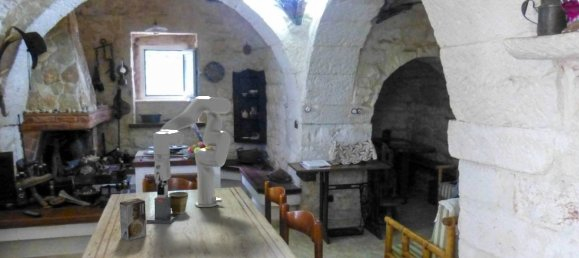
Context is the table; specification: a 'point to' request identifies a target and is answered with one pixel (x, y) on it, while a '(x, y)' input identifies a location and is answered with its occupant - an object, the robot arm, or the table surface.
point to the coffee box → (132, 219)
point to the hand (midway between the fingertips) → (162, 193)
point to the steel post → (164, 191)
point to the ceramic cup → (178, 202)
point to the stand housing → (162, 211)
